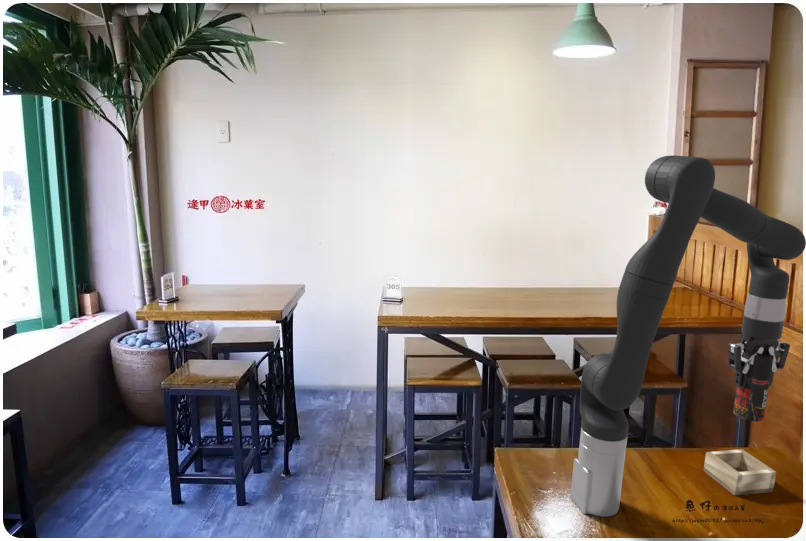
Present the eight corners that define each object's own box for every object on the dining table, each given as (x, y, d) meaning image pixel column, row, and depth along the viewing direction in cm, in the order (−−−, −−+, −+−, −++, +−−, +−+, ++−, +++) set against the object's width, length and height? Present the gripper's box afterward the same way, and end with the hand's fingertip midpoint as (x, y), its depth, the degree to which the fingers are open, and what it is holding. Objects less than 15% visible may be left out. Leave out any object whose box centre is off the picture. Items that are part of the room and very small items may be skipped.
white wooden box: (734, 495, 124) (737, 475, 123) (703, 470, 133) (706, 452, 132) (772, 491, 126) (776, 472, 125) (739, 467, 135) (742, 449, 134)
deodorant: (735, 407, 130) (744, 346, 127) (765, 414, 126) (775, 353, 123) (731, 415, 126) (740, 353, 123) (761, 424, 122) (772, 360, 119)
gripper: (748, 321, 116) (737, 395, 120) (806, 319, 119) (794, 391, 122) (722, 311, 124) (712, 381, 127) (778, 309, 126) (766, 378, 130)
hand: (752, 386), depth 125 cm, fingers closed on deodorant, 6 cm apart
